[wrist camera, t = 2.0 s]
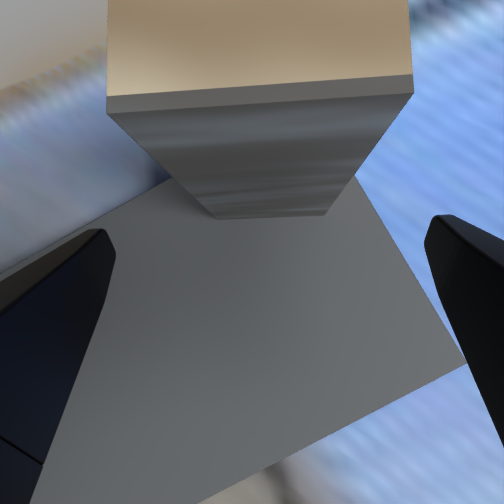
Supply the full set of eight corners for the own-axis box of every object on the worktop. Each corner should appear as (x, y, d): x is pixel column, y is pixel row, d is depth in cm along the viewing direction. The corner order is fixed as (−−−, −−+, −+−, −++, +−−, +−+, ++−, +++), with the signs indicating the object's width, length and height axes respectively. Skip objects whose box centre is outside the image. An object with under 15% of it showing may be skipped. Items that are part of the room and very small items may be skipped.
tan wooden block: (324, 215, 19) (414, 92, 7) (217, 219, 20) (106, 113, 7) (322, 167, 20) (405, -44, 7) (217, 172, 20) (108, -14, 7)
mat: (461, 360, 19) (467, 363, 18) (63, 567, 20) (56, 576, 19) (308, 104, 21) (309, 99, 20) (-47, 304, 22) (-57, 305, 21)
